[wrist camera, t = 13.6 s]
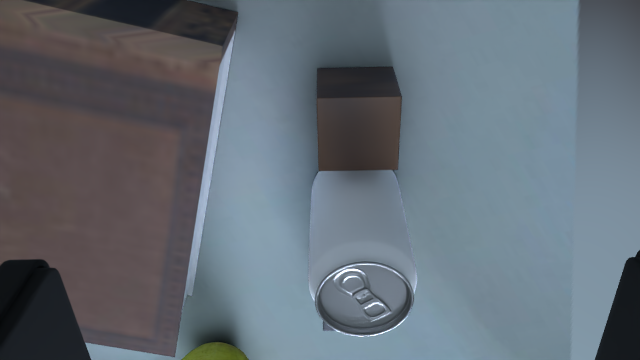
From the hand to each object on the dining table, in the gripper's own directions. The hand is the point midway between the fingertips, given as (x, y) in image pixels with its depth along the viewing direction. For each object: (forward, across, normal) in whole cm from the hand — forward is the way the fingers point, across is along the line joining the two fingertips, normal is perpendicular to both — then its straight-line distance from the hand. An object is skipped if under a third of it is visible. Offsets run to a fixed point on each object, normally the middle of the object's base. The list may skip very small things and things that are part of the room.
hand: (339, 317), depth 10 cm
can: (+29, -1, +16) cm, 34 cm away
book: (+29, +23, +11) cm, 39 cm away
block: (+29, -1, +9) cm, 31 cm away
